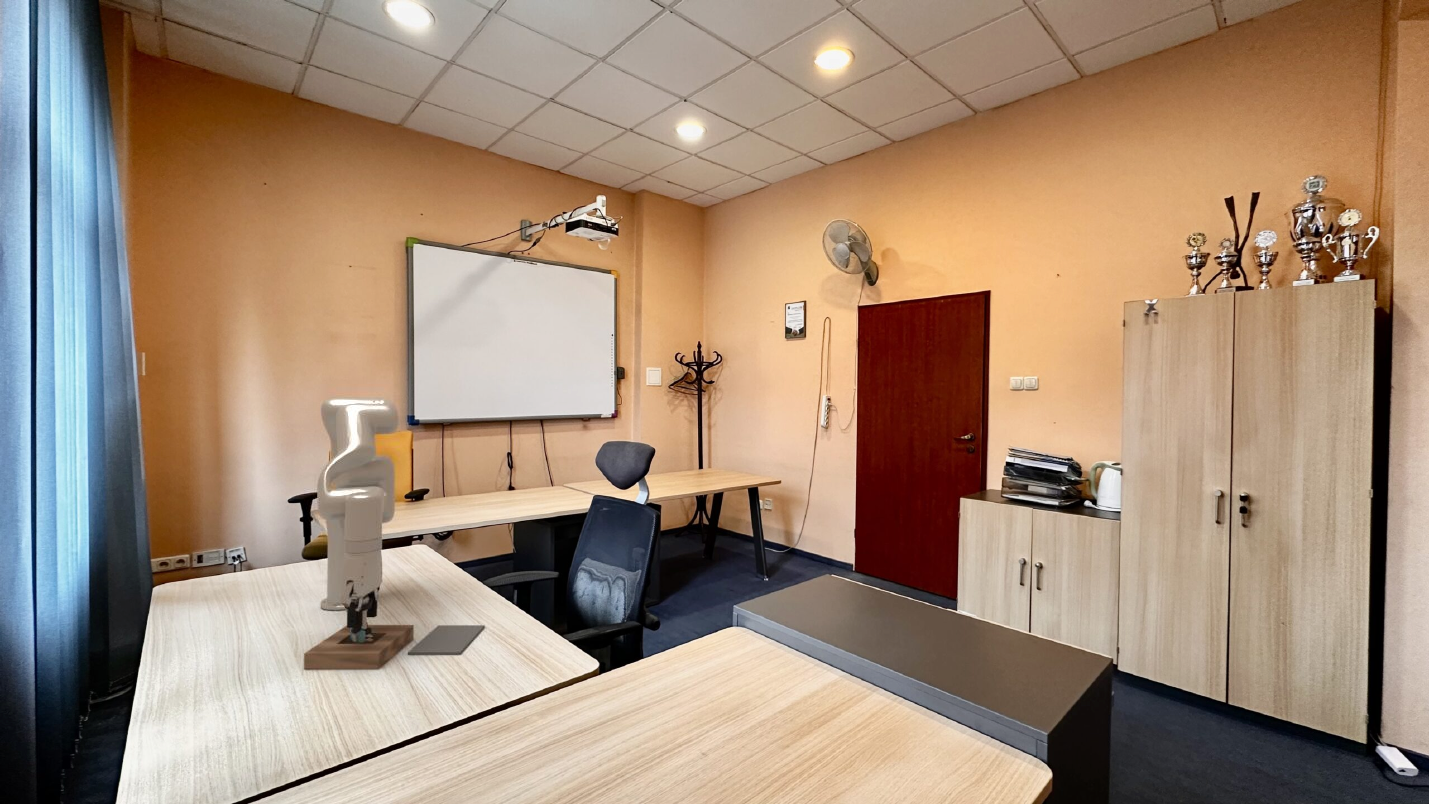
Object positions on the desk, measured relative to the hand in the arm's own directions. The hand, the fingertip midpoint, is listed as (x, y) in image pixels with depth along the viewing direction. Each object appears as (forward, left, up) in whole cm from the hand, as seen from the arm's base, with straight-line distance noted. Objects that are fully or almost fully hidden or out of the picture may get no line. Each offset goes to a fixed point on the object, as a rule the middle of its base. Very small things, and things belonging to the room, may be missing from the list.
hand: (362, 621), depth 134 cm
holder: (0, 0, -7) cm, 7 cm away
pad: (-7, +17, -7) cm, 20 cm away
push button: (0, 0, -5) cm, 5 cm away
